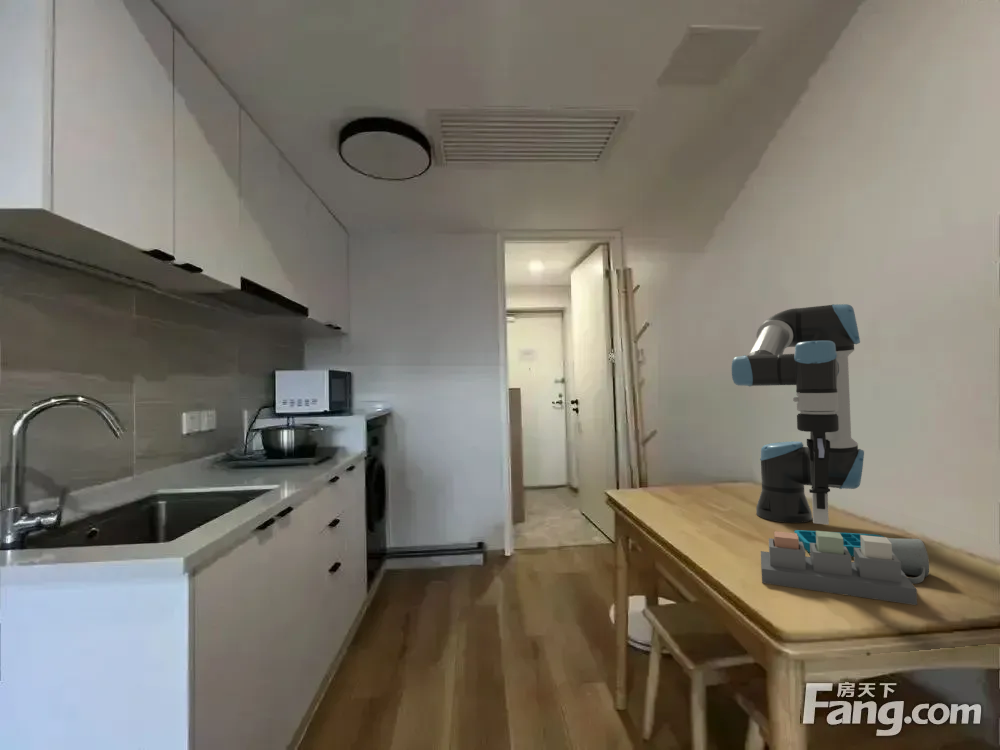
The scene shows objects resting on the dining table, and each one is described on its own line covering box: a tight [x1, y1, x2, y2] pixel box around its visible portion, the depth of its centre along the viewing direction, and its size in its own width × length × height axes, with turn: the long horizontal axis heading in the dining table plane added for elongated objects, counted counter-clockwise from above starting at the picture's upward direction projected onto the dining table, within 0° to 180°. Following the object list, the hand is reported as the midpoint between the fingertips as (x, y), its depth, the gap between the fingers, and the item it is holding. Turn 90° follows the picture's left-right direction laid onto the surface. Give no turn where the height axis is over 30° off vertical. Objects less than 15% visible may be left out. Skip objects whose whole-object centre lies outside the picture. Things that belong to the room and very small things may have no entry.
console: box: [760, 537, 918, 606], centre depth 105 cm, size 12×26×7 cm, turn 63°
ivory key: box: [860, 535, 892, 560], centre depth 101 cm, size 4×4×4 cm
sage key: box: [815, 530, 844, 554], centre depth 105 cm, size 4×4×4 cm
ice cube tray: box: [793, 529, 885, 558], centre depth 124 cm, size 12×20×3 cm, turn 73°
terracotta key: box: [773, 531, 799, 549], centre depth 108 cm, size 4×4×4 cm
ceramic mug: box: [886, 537, 930, 585], centre depth 108 cm, size 11×8×8 cm
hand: (820, 522), depth 105 cm, fingers closed
